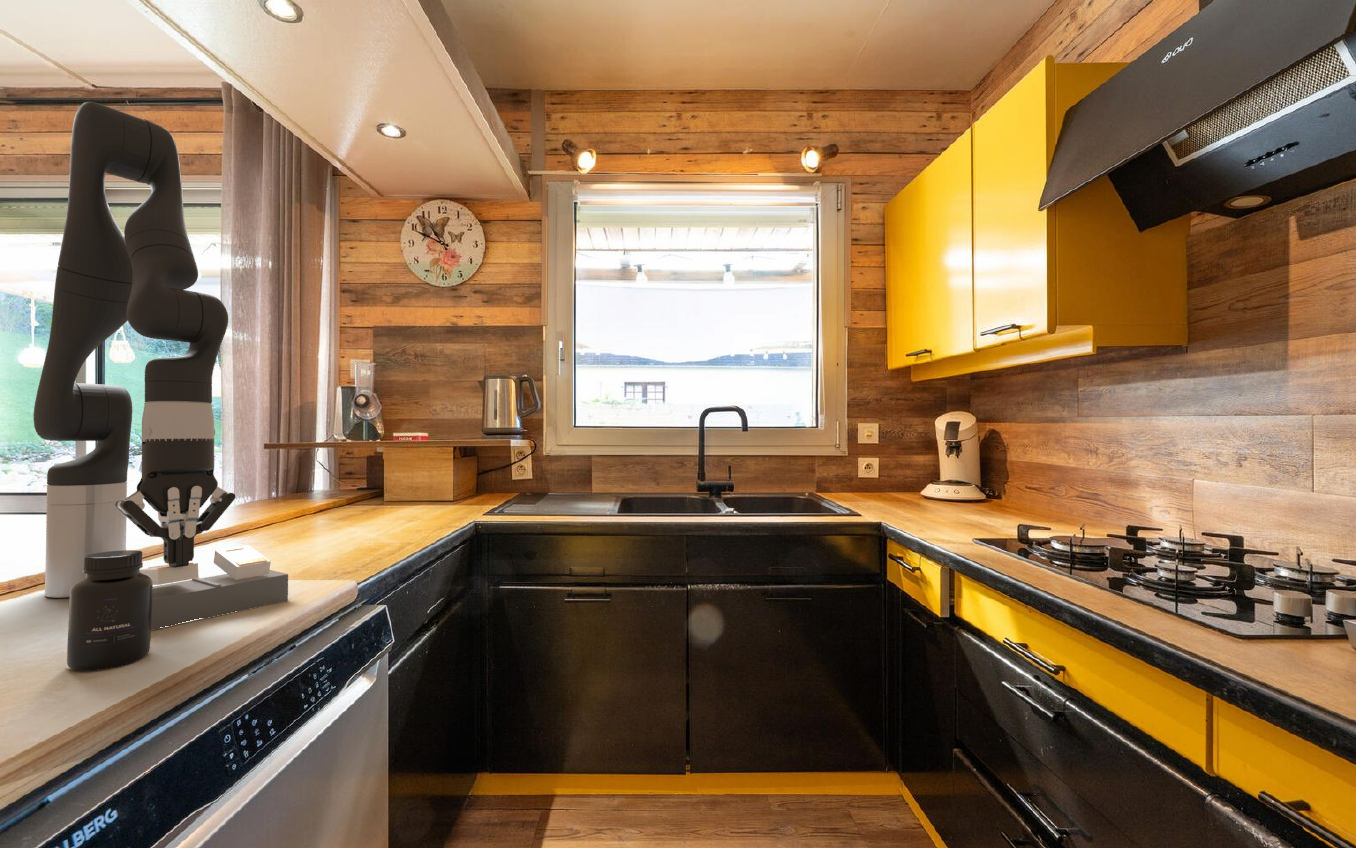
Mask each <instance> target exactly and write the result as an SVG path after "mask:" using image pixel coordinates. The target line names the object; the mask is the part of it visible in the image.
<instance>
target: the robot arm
mask: <svg viewBox="0 0 1356 848" xmlns="http://www.w3.org/2000/svg"><path fill="white" fill-rule="evenodd" d="M74 115H75V116H74V119H73V124H72V128H71V138H70V139H71V140H70V153H69V155H70V156H69V179H68V194H67V195H68V196H67V197H68V199H67V208H66V209H67V210H66V217H65V223H64V229H63V233H62V234H63V235H62V241H61V246H60V252H59V257H58V262H57V267H56V275H55V282H54V283H55V284H54V291H53V292H54V293H53V300H52V301H53V303H52V312H51V314H52V315H51V324H50V332H49V339H48V343H47V350H46V354H45V356H44V357H45V358H44V362H43V367H42V371H41V375H40V380H39V383H38V386H37V390H36V396H35V401H34V407H33V424H34V425H33V427H34V429H35V432H36V434H37V436H38V437H40V438H41V439H43V440H46V441H53V442H54V441H57V442H93V441H94V442H97V443H96V446H95V448H94V449H93V450H92V451H90V452H89V453H87V454H85V455H83V456H80V457H79V458H76V459H75V458H74V459H73V460H69V461H65V462H62V463H58V464H55V465H52V466H51V467H49V469H48V471H47V475H46V484H47V485H46V518H45V519H46V522H45V525H46V527H45V570H44V572H45V573H44V581H45V582H44V596H45V597H47V598H70V591H71V589H72V587H73V586H74V585H75V584H76V583H78V582H79V581H81V580H83V579H84V578H86V574H84V573H83V568H84V558H85V556H87V555H90V554H95V553H101V552H109V551H122V550H127V518H128V520H129V521H130V522H132V523H133V524H134V525H135V526H136V527H137V529H139V530H140V531H141V532H142V533H144V534H145V535H146V536H148V537H149V536H153V537H156V538H157V537H158V538H160V539H162V540H163V561H164V563H165V564H166V565H168V564H169V566H171V567H173V568H176V567H183V566H188V565H189V563H190V562H192V561H193V560H194V557H195V537H196V536H197V535H198V534H201V533H203V532H208V531H209V530H210V529H212V527H213V526H214V525H215V523H216V522H217V521H218V520H219V519H220V517H221V516H222V515H223V514H224V513H225V512H226V511H227V509H228V508H229V507H230V505H231V504H232V503H233V502H234V500H235V499H236V498H237V497H236V494H235V493H233V492H228V491H226V490H224V489H223V488H221V487H220V486H219V482H218V480H217V478H216V477H215V474H214V471H215V435H216V429H215V418H214V417H215V416H214V413H213V412H214V411H213V404H212V403H213V373H214V369H215V365H216V361H217V359H218V354H219V351H220V348H221V345H222V343H223V340H224V337H225V334H226V332H227V329H228V326H229V315H228V310H227V308H226V306H225V304H224V303H223V301H222V300H221V299H219V298H218V297H217V296H215V295H212V294H209V293H204V292H198V291H192V290H187V289H190V288H191V287H192V286H194V285H195V283H196V282H197V281H198V277H199V270H198V266H197V262H196V259H195V256H194V253H193V249H192V246H191V245H192V244H191V243H190V240H189V236H188V233H187V229H186V221H185V214H184V212H185V210H184V199H183V198H184V197H183V195H184V194H183V185H182V184H183V183H182V177H181V175H182V174H181V166H180V165H181V163H180V155H179V152H178V146H177V144H176V141H175V138H174V136H173V135H172V134H171V132H170V131H169V130H168V129H167V128H165V127H163V126H161V125H159V124H158V123H155V122H152V121H150V120H147V119H143V118H142V117H138V116H136V115H133V114H130V113H127V112H124V111H121V110H118V109H116V108H113V107H109V106H107V105H104V104H101V103H98V102H95V101H86V102H83V103H82V104H81V105H79V107H78V109H77V111H76V113H75V114H74ZM106 174H108V175H112V176H116V177H118V178H122V179H125V180H129V181H134V182H138V183H141V184H147V186H149V188H150V190H151V192H150V194H149V195H148V196H147V198H146V199H145V200H144V201H143V202H142V203H141V204H140V205H138V206H137V207H136V208H135V209H134V210H133V211H132V213H131V214H130V215H129V216H128V218H127V220H126V223H125V225H124V232H123V231H122V230H121V228H120V227H119V225H118V223H117V221H116V220H115V217H114V216H113V215H114V214H113V213H112V211H111V209H110V205H109V202H108V198H107V194H106V185H105V184H106V182H105V180H106V179H105V178H106ZM127 322H128V324H129V325H130V327H131V328H132V329H133V330H134V331H135V332H136V333H137V334H139V335H140V336H143V337H145V338H147V339H154V340H162V341H171V342H173V341H174V342H180V343H181V342H182V343H189V347H188V349H187V351H186V352H185V353H184V354H183V355H180V356H172V357H170V356H169V357H159V358H154V359H151V360H149V361H148V362H147V363H146V365H145V367H144V406H143V407H144V408H143V413H142V418H141V478H140V481H139V482H137V485H136V490H135V491H134V492H133V493H132V494H130V495H129V496H128V495H127V493H128V490H127V489H128V469H129V462H130V446H131V445H130V444H131V435H132V434H131V432H132V423H133V401H132V396H131V395H130V393H129V390H127V388H125V387H123V386H121V385H117V384H116V385H115V384H102V383H101V384H100V383H99V384H98V383H84V382H80V383H79V382H76V379H77V376H78V374H79V373H80V370H81V369H82V366H83V365H84V363H85V362H86V360H87V359H88V358H89V357H90V355H91V354H92V353H93V352H94V351H95V350H96V349H97V348H98V347H99V346H100V345H101V344H102V343H104V341H106V340H108V339H109V338H110V337H111V336H113V335H114V334H115V333H116V332H117V331H118V330H120V329H121V328H122V327H123V326H124V325H125V324H126V323H127ZM209 498H210V499H209ZM208 500H209V502H210V504H209V505H208V506H207V507H206V508H205V509H204V511H203V512H202V513H201V515H200V509H201V508H202V507H203V506H204V505H205V503H206V502H207V501H208ZM144 501H145V502H147V503H148V505H149V506H151V508H152V509H153V510H154V511H156V512H157V516H158V517H157V518H158V521H159V523H160V525H159V524H158V523H157V522H156V521H155V520H154V519H153V518H152V517H150V515H148V514H147V512H145V511H144V509H145V507H146V504H145V502H144Z"/></svg>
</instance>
